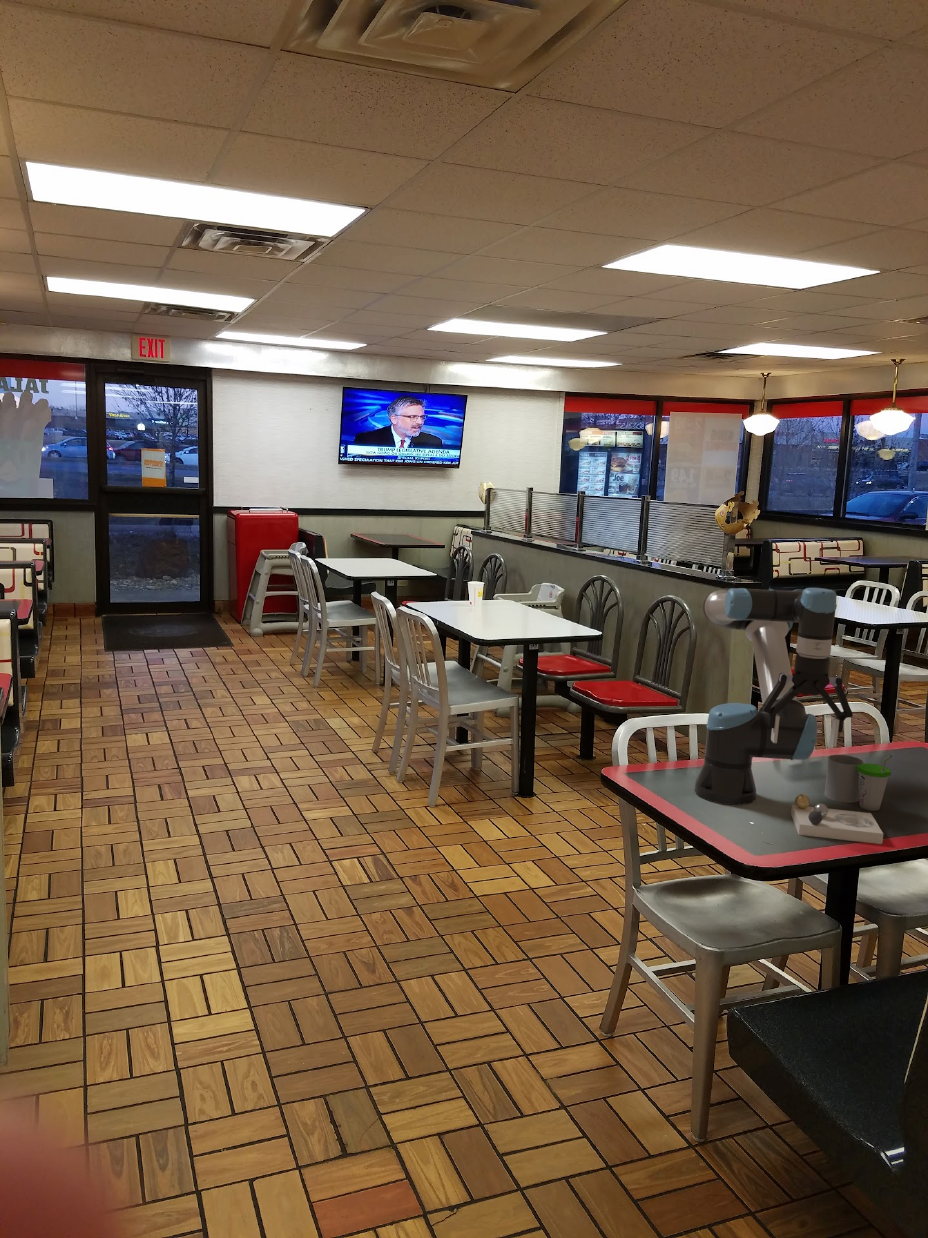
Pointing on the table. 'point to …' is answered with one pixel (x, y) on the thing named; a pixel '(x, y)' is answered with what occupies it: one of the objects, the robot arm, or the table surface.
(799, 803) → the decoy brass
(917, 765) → the table surface
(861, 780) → the cup
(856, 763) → the cup
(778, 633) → the robot arm
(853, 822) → the plate
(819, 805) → the steel ball
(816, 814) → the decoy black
